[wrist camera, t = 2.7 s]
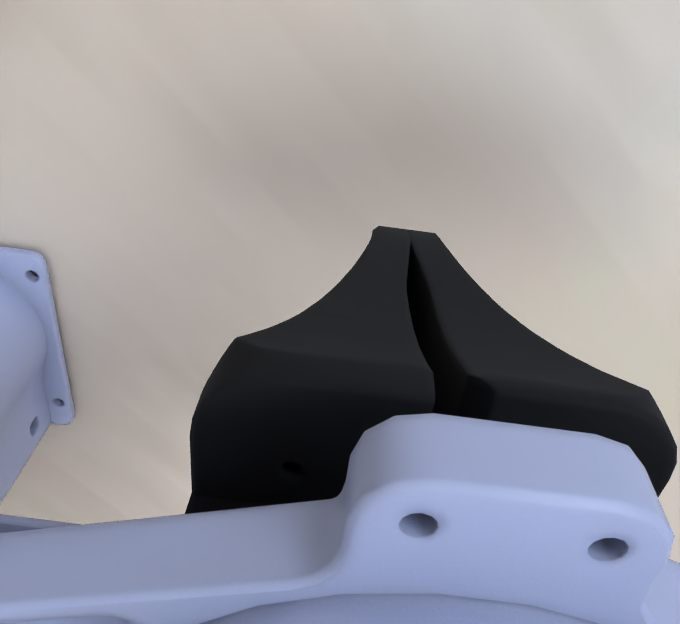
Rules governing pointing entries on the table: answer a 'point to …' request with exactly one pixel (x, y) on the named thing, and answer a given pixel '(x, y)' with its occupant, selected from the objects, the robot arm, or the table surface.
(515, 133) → the table surface
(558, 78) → the table surface
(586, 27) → the table surface
